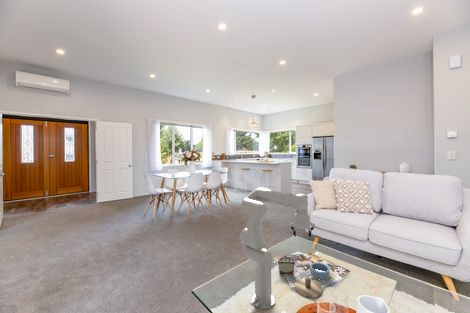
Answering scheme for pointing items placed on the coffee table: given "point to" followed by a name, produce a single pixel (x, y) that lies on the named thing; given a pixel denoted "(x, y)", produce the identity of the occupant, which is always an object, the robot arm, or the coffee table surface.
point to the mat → (307, 297)
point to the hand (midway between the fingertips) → (302, 236)
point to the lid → (308, 288)
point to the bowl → (320, 275)
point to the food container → (286, 265)
